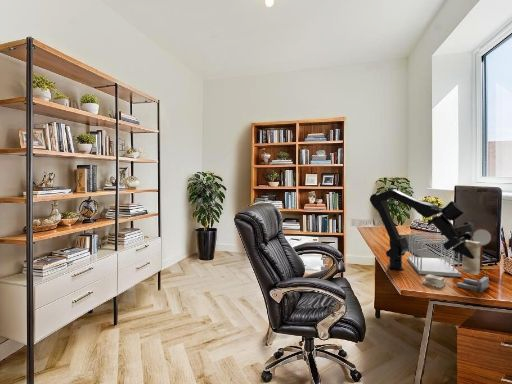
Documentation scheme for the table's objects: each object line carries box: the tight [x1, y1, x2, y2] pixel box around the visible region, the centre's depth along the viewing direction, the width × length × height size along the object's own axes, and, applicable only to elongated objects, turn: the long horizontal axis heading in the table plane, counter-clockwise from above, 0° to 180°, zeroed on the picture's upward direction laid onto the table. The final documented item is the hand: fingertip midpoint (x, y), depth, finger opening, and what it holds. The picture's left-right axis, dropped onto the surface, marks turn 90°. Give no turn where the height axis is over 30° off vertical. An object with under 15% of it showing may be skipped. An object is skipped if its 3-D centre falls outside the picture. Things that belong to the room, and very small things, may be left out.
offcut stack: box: [422, 274, 446, 289], centre depth 128 cm, size 7×5×4 cm
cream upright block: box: [461, 240, 481, 276], centre depth 124 cm, size 5×4×13 cm
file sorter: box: [407, 231, 462, 278], centre depth 150 cm, size 25×17×16 cm
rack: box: [456, 276, 490, 293], centre depth 124 cm, size 8×9×4 cm
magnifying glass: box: [471, 227, 493, 270], centre depth 146 cm, size 9×2×20 cm, turn 76°
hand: (475, 257), depth 123 cm, fingers closed on cream upright block, 4 cm apart
